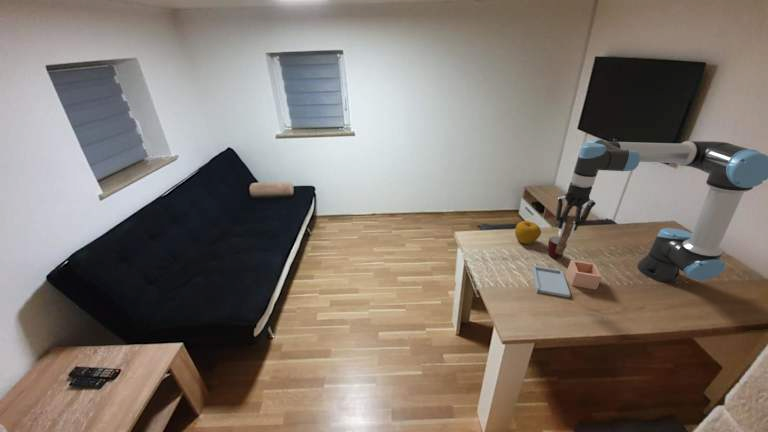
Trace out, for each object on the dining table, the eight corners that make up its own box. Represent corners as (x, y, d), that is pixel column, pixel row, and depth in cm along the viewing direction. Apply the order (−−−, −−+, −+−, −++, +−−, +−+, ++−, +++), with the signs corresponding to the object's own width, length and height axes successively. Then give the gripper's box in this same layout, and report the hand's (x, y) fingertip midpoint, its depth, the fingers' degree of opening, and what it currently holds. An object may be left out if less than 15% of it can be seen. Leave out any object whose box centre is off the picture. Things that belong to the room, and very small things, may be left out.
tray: (531, 268, 149) (532, 265, 148) (560, 273, 145) (562, 269, 144) (536, 293, 134) (537, 289, 133) (569, 299, 130) (570, 295, 129)
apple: (519, 232, 179) (523, 215, 173) (541, 241, 170) (546, 224, 165) (508, 240, 171) (512, 223, 166) (531, 250, 163) (536, 232, 157)
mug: (568, 263, 152) (573, 247, 147) (552, 264, 152) (557, 248, 147) (556, 251, 161) (561, 236, 156) (541, 252, 161) (546, 236, 156)
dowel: (562, 251, 132) (574, 215, 124) (563, 254, 130) (575, 218, 121) (554, 250, 133) (566, 214, 124) (555, 253, 130) (567, 217, 122)
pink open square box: (589, 277, 143) (594, 263, 139) (595, 290, 135) (601, 276, 131) (566, 273, 146) (570, 259, 142) (570, 286, 137) (576, 272, 133)
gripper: (602, 182, 117) (583, 233, 128) (556, 178, 121) (542, 228, 132) (608, 190, 111) (588, 243, 122) (560, 185, 115) (545, 237, 126)
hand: (564, 235), depth 127 cm, fingers closed on dowel, 3 cm apart
